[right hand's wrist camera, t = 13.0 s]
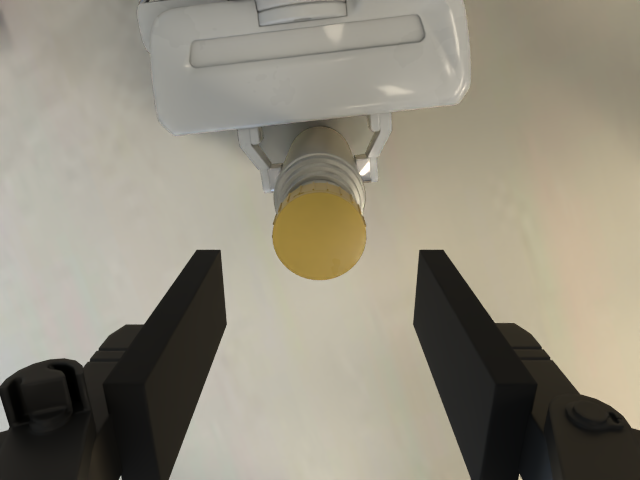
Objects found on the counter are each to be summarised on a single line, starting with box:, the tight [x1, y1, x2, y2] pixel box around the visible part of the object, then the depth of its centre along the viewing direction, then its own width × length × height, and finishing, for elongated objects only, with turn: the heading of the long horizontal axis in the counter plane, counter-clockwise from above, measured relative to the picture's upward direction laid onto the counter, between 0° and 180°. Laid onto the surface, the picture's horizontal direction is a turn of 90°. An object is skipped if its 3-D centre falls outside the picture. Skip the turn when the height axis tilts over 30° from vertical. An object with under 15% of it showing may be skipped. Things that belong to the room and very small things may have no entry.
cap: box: [272, 182, 366, 280], centre depth 20 cm, size 4×4×2 cm
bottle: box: [274, 126, 366, 215], centre depth 28 cm, size 5×5×19 cm
